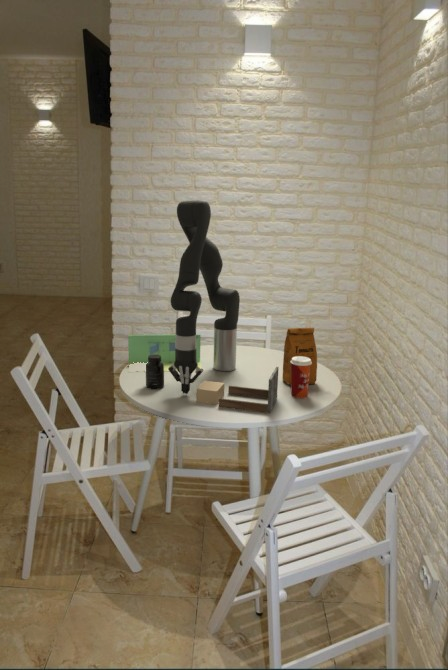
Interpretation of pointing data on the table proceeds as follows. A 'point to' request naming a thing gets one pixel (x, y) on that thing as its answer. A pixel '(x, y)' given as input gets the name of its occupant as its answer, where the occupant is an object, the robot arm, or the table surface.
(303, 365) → the paper cup
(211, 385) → the carton
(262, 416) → the table surface
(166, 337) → the display stand
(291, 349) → the coffee package
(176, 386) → the table surface
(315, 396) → the table surface
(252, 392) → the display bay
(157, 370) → the supplement bottle
